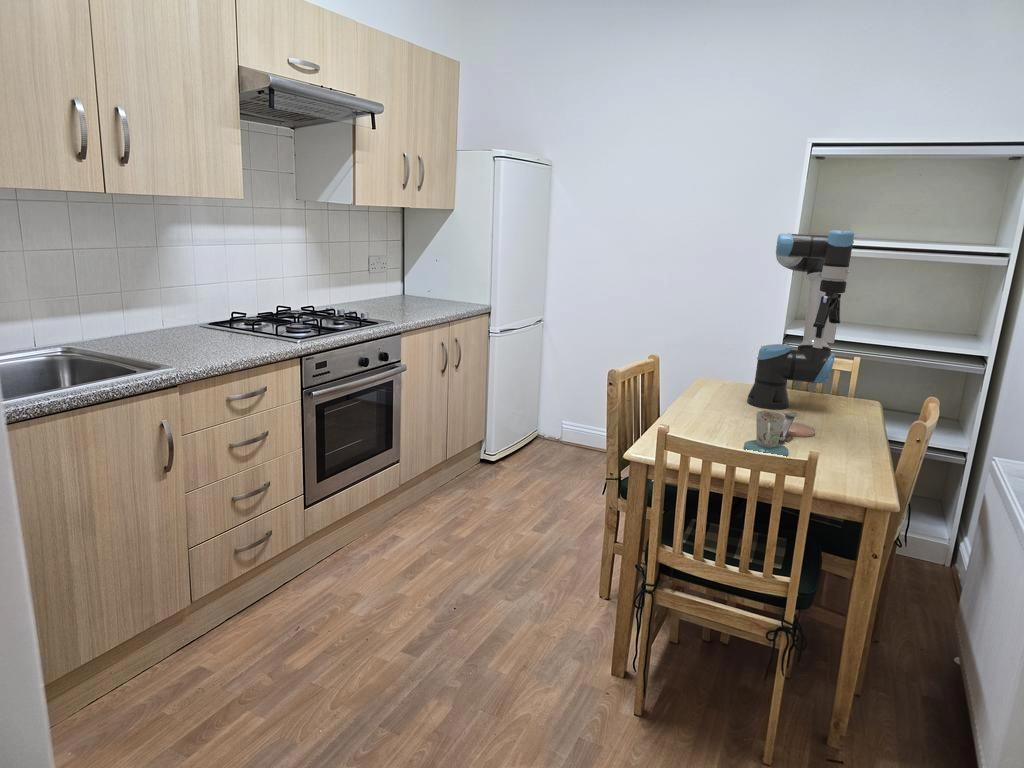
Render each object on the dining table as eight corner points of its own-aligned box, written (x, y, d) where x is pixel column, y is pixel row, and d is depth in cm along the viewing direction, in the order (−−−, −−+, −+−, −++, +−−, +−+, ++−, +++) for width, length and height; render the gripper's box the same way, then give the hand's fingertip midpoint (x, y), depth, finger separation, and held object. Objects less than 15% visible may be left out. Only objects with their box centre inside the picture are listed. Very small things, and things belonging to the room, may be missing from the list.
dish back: (768, 430, 236) (769, 427, 236) (781, 422, 246) (781, 419, 245) (808, 439, 228) (808, 436, 228) (819, 431, 238) (820, 427, 238)
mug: (780, 442, 220) (784, 412, 218) (781, 455, 208) (786, 423, 206) (752, 438, 223) (756, 409, 220) (752, 451, 211) (757, 419, 208)
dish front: (737, 450, 215) (737, 446, 214) (752, 440, 224) (753, 437, 224) (779, 461, 207) (780, 457, 206) (793, 450, 217) (794, 447, 216)
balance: (768, 441, 224) (771, 418, 222) (781, 432, 234) (785, 410, 232) (783, 445, 221) (787, 422, 219) (796, 436, 231) (800, 413, 229)
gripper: (835, 283, 209) (824, 351, 214) (856, 278, 228) (845, 342, 233) (810, 280, 214) (799, 348, 219) (832, 276, 233) (822, 338, 238)
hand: (823, 345), depth 226 cm, fingers open, 13 cm apart
